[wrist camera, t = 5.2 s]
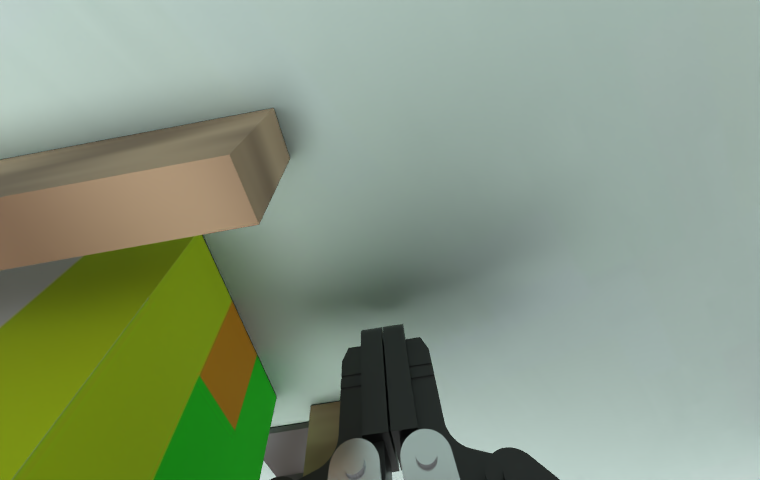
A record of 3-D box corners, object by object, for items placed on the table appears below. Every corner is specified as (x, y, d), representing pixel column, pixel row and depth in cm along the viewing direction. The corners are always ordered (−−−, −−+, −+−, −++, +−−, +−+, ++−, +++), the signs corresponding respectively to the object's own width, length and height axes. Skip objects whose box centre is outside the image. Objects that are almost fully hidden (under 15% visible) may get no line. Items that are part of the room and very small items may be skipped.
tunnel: (273, 108, 9) (229, 154, 6) (387, 460, 21) (394, 542, 18) (-124, 182, 10) (-371, 265, 6) (207, 488, 22) (180, 572, 18)
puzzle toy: (-94, 262, 11) (-1376, 946, 3) (199, 229, 11) (-240, 812, 3) (79, 419, 17) (-195, 814, 8) (276, 397, 17) (199, 767, 8)
